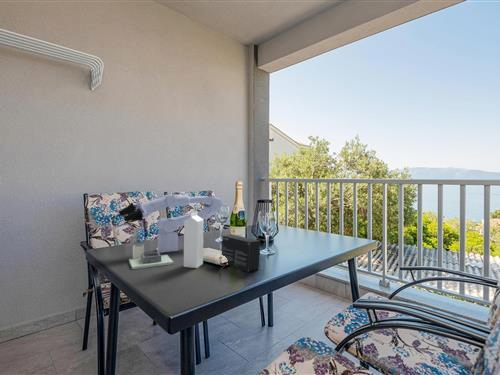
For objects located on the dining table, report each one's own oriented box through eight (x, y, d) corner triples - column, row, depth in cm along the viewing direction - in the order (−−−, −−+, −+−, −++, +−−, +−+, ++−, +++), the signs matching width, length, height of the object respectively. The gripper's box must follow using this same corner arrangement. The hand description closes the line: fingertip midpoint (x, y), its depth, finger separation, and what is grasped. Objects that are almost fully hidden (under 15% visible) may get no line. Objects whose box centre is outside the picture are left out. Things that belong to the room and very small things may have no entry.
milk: (183, 266, 113) (183, 213, 113) (190, 262, 119) (190, 211, 119) (197, 268, 112) (197, 213, 111) (203, 263, 118) (203, 212, 117)
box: (260, 269, 112) (260, 240, 112) (248, 273, 108) (249, 242, 107) (232, 260, 124) (232, 233, 124) (220, 263, 120) (221, 235, 119)
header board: (166, 256, 127) (167, 249, 127) (173, 264, 116) (173, 255, 116) (128, 261, 119) (128, 253, 119) (132, 269, 109) (132, 260, 109)
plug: (142, 257, 126) (142, 242, 125) (143, 259, 122) (143, 244, 122) (132, 258, 124) (132, 243, 123) (133, 260, 120) (134, 245, 120)
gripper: (144, 195, 137) (115, 203, 129) (155, 203, 127) (124, 213, 119) (147, 208, 140) (118, 217, 132) (158, 217, 129) (128, 227, 121)
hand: (121, 216), depth 126 cm, fingers open, 7 cm apart
